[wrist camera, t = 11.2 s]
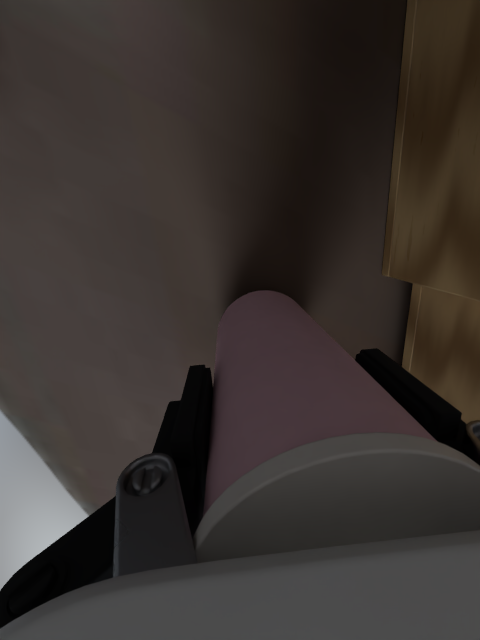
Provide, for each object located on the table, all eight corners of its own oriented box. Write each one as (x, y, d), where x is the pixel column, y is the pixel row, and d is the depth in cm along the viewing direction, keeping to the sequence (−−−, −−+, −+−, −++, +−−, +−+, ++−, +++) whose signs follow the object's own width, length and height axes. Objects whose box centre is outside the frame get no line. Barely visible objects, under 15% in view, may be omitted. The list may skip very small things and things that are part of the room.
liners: (194, 324, 16) (109, 570, 4) (278, 266, 15) (456, 377, 3) (249, 393, 17) (296, 702, 6) (328, 345, 17) (556, 594, 5)
